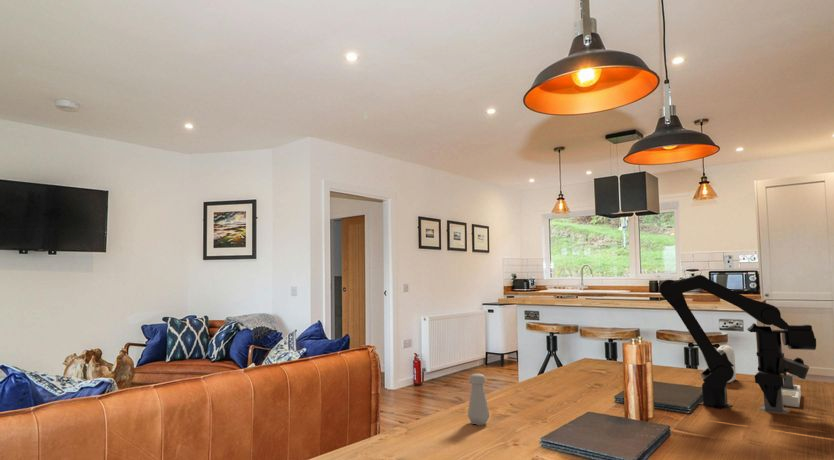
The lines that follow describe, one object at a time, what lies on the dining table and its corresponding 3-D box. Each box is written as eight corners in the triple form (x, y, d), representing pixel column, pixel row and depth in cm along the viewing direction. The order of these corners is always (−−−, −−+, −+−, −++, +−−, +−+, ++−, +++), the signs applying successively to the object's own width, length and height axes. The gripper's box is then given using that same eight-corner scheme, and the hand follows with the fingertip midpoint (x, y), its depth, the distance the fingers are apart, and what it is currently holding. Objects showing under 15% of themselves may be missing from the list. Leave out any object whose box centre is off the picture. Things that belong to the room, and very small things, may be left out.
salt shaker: (491, 421, 135) (489, 372, 136) (487, 427, 129) (485, 376, 130) (470, 419, 137) (469, 371, 138) (465, 425, 131) (464, 375, 132)
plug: (782, 412, 135) (780, 388, 135) (764, 410, 137) (763, 387, 138) (783, 409, 138) (781, 386, 139) (766, 406, 141) (764, 384, 141)
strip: (799, 408, 140) (796, 382, 140) (768, 404, 144) (766, 379, 145) (802, 385, 165) (800, 364, 166) (776, 382, 170) (774, 362, 170)
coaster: (780, 416, 133) (780, 414, 133) (753, 409, 139) (753, 408, 139) (795, 412, 136) (795, 410, 136) (768, 406, 142) (768, 404, 142)
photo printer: (724, 377, 180) (721, 343, 181) (737, 379, 177) (735, 344, 178) (715, 382, 173) (713, 346, 174) (729, 384, 170) (727, 347, 171)
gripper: (804, 355, 127) (810, 418, 126) (806, 346, 141) (811, 402, 140) (752, 352, 134) (757, 411, 133) (759, 343, 148) (763, 396, 147)
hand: (773, 405), depth 138 cm, fingers closed on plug, 4 cm apart
